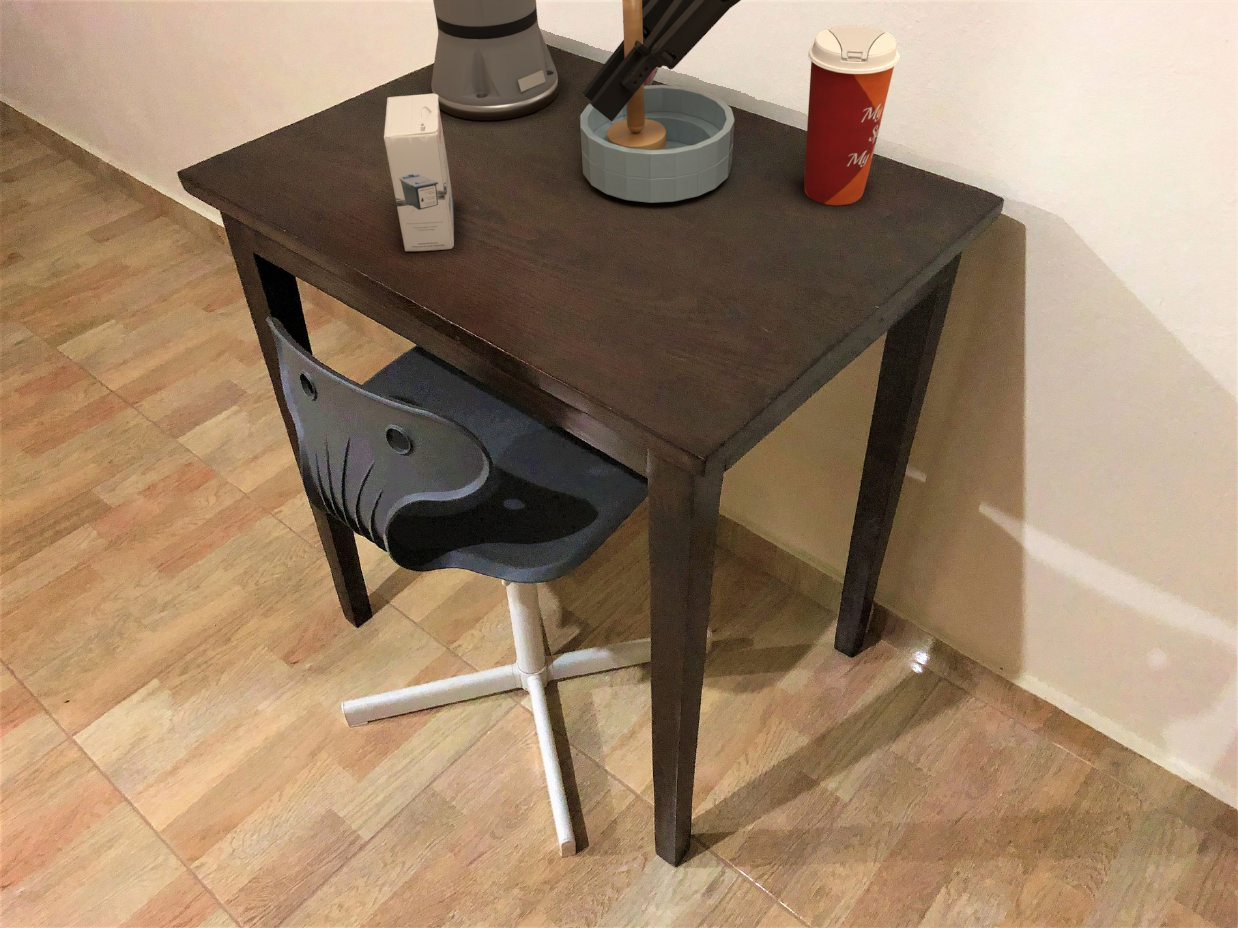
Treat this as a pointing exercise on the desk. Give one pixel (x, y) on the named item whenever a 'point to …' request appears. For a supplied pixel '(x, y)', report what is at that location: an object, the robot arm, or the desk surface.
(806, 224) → the desk surface
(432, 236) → the ink box
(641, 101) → the wooden paper towel holder
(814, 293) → the desk surface
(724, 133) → the bowl
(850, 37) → the coffee cup
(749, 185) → the desk surface
